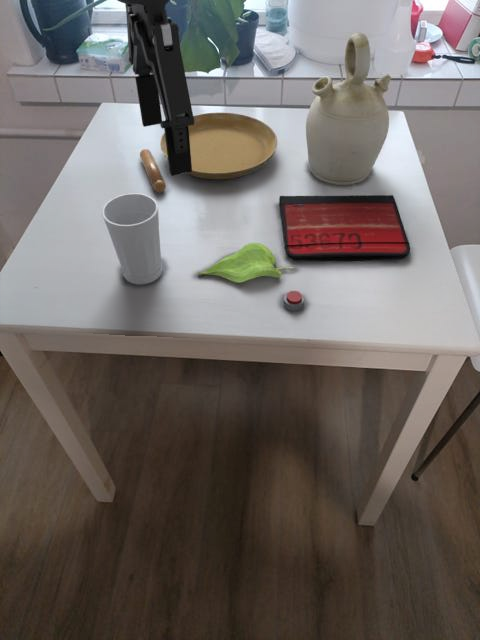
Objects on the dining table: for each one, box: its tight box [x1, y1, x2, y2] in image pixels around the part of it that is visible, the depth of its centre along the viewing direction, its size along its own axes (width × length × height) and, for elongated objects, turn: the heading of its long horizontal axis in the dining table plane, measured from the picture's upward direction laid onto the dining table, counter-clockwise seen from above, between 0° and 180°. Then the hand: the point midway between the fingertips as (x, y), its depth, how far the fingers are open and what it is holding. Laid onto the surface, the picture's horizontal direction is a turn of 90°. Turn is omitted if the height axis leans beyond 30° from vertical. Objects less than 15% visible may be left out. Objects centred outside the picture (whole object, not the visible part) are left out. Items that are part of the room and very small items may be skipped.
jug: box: [305, 32, 392, 186], centre depth 90 cm, size 15×16×25 cm
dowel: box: [139, 148, 167, 193], centre depth 97 cm, size 14×2×2 cm, turn 20°
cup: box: [101, 192, 163, 285], centre depth 75 cm, size 8×8×12 cm
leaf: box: [197, 242, 295, 284], centre depth 79 cm, size 9×16×2 cm, turn 92°
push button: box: [283, 290, 305, 311], centre depth 74 cm, size 3×3×2 cm
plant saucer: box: [160, 112, 278, 180], centre depth 102 cm, size 24×24×3 cm
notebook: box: [278, 194, 411, 262], centre depth 85 cm, size 16×2×21 cm
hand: (165, 146), depth 65 cm, fingers open, 13 cm apart
